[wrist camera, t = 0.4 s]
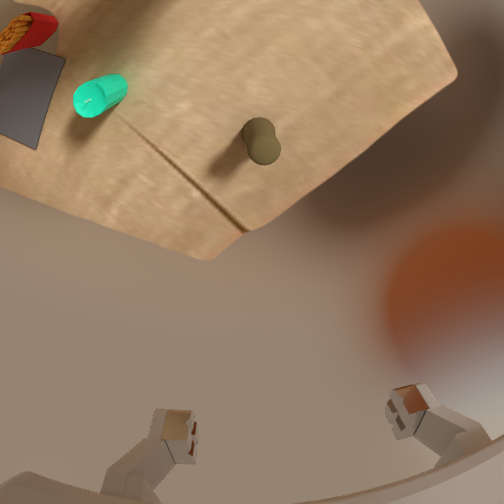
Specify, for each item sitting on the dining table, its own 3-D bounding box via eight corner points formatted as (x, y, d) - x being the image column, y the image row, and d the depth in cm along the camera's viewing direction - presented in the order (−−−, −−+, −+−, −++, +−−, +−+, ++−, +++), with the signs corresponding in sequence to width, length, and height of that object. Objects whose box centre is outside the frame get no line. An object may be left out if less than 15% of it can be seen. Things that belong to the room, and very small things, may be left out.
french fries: (56, 9, 33) (16, 7, 22) (64, 23, 35) (24, 24, 25) (24, 41, 35) (-18, 48, 25) (32, 55, 37) (-10, 64, 27)
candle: (93, 99, 46) (64, 114, 37) (104, 69, 43) (75, 78, 33) (120, 108, 48) (96, 125, 39) (132, 79, 45) (108, 89, 36)
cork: (243, 149, 55) (246, 171, 47) (241, 118, 52) (244, 134, 43) (275, 147, 56) (285, 169, 47) (275, 116, 52) (285, 133, 43)
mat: (10, 41, 34) (9, 41, 33) (66, 59, 40) (64, 59, 40) (-13, 126, 44) (-14, 126, 43) (36, 148, 50) (35, 149, 49)
